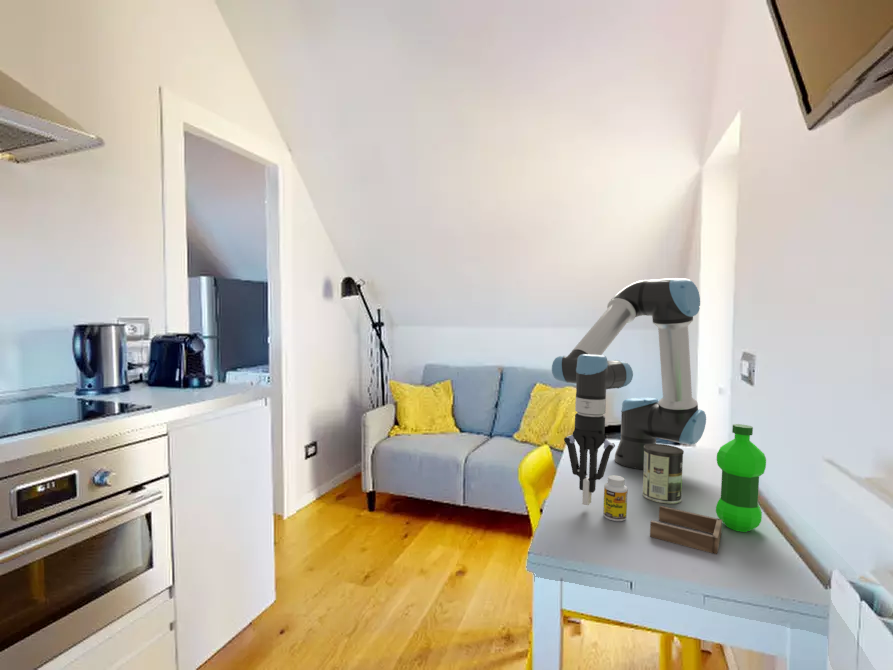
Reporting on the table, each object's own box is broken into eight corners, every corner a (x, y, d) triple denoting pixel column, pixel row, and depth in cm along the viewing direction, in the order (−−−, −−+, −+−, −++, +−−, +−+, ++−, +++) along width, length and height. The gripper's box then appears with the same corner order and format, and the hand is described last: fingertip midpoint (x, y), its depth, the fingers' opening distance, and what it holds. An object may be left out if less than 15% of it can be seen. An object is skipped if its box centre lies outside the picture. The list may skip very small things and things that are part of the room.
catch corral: (659, 519, 119) (660, 505, 119) (721, 534, 111) (722, 519, 111) (649, 536, 109) (650, 521, 109) (717, 554, 101) (717, 538, 101)
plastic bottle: (744, 518, 120) (749, 421, 120) (773, 537, 110) (778, 431, 109) (705, 517, 120) (710, 420, 120) (730, 536, 110) (735, 430, 109)
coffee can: (675, 492, 138) (677, 444, 138) (686, 505, 128) (688, 454, 128) (638, 489, 140) (640, 442, 140) (646, 502, 130) (648, 451, 130)
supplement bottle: (601, 519, 118) (602, 478, 118) (605, 511, 123) (606, 472, 123) (624, 524, 115) (626, 482, 115) (627, 516, 120) (629, 476, 120)
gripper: (560, 412, 123) (557, 501, 124) (611, 419, 115) (608, 514, 116) (570, 408, 129) (567, 493, 130) (619, 415, 122) (616, 504, 122)
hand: (586, 503), depth 123 cm, fingers closed
